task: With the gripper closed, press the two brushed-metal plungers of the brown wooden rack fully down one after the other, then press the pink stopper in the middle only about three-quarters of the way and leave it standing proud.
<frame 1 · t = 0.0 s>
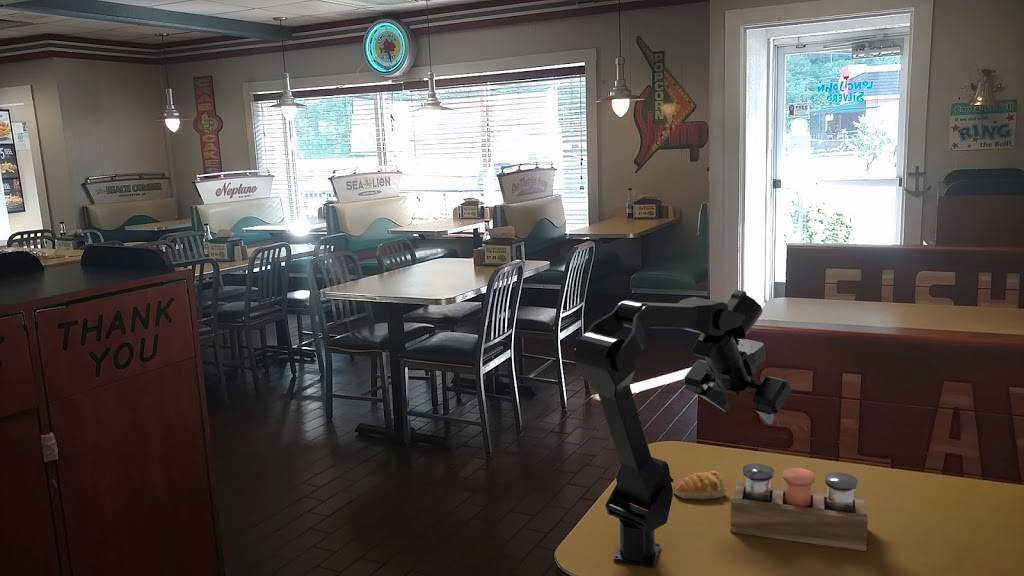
hand: (748, 416, 145), 15 cm above the table, tool tilted 35°, fingers open, 9 cm apart
pastry: (701, 494, 149), on the table
plunger 2: (840, 495, 131), point 7 cm above the table, slide at 0.0 cm
brown wooden rack: (796, 528, 134), on the table
plunger 1: (757, 485, 135), point 7 cm above the table, slide at 0.0 cm
pink stopper: (798, 490, 133), point 7 cm above the table, slide at 0.0 cm
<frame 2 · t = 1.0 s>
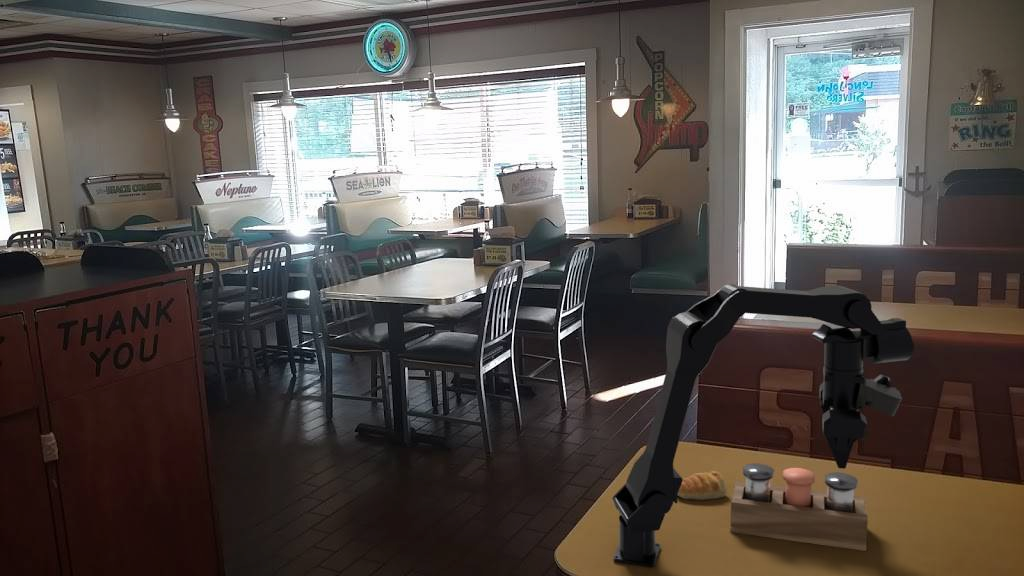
hand: (840, 456, 130), 13 cm above the table, tool pointing down, fingers open, 8 cm apart
nothing on the table moved.
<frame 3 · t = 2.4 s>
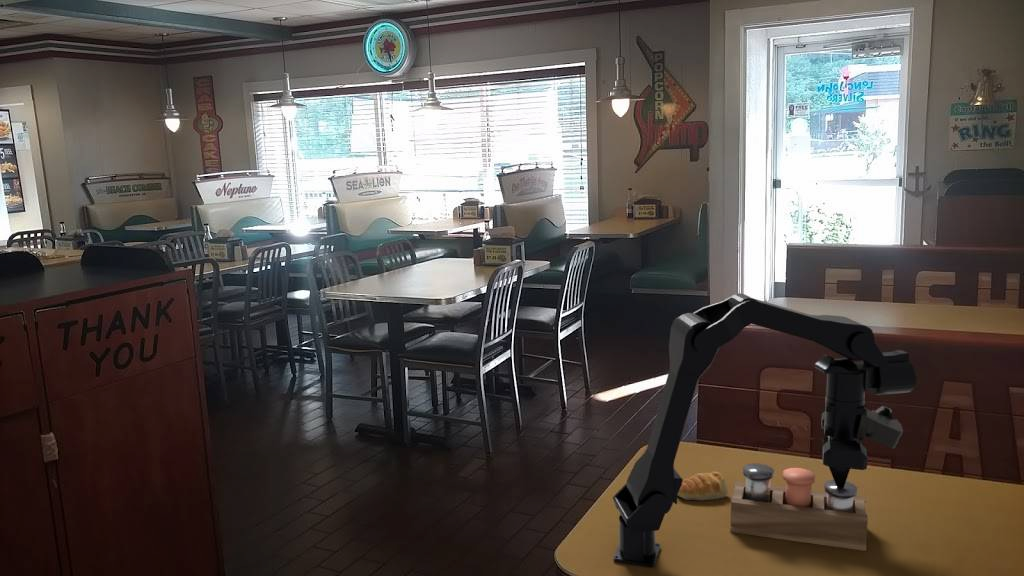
hand: (840, 486, 130), 8 cm above the table, tool pointing down, fingers closed, pressing on plunger 2
plunger 2: (839, 502, 131), point 6 cm above the table, slide at 1.4 cm, touching gripper
everything else where it was.
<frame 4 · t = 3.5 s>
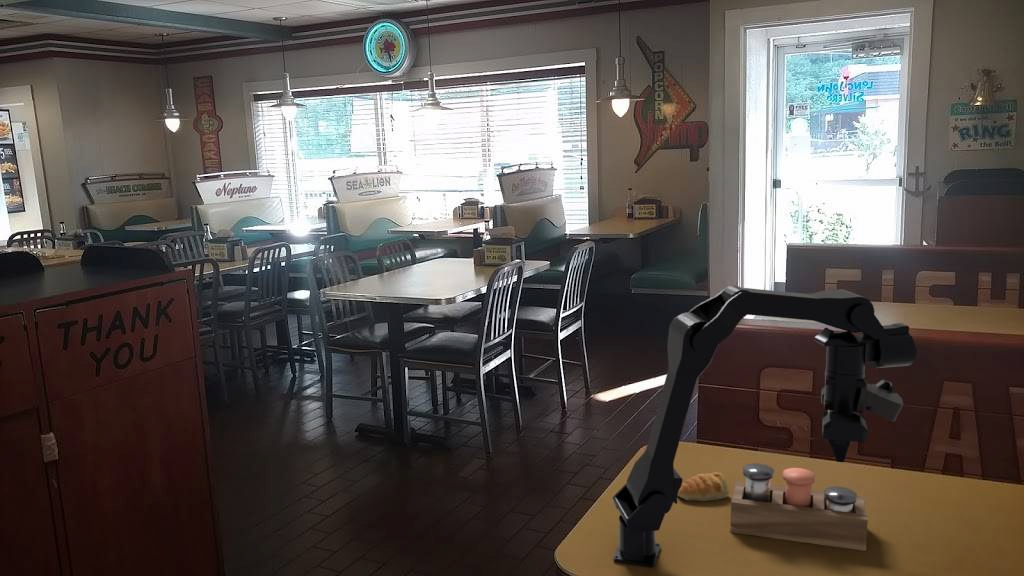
hand: (840, 461, 130), 13 cm above the table, tool pointing down, fingers closed
plunger 2: (839, 509, 131), point 4 cm above the table, slide at 2.5 cm
everything else where it was.
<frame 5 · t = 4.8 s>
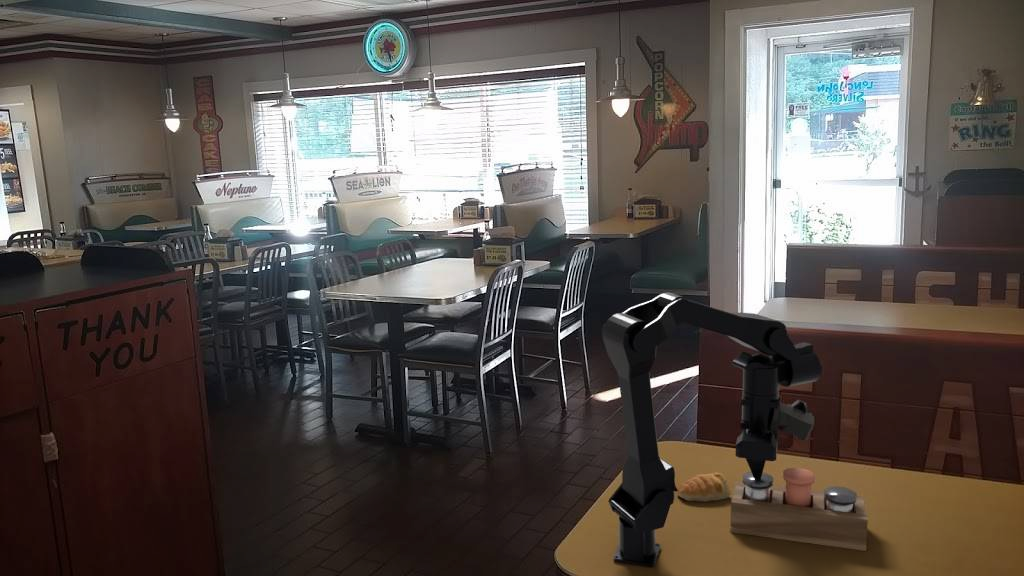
hand: (757, 477, 135), 8 cm above the table, tool pointing down, fingers closed, pressing on plunger 1
plunger 1: (757, 493, 136), point 5 cm above the table, slide at 1.5 cm, touching gripper
everything else where it was.
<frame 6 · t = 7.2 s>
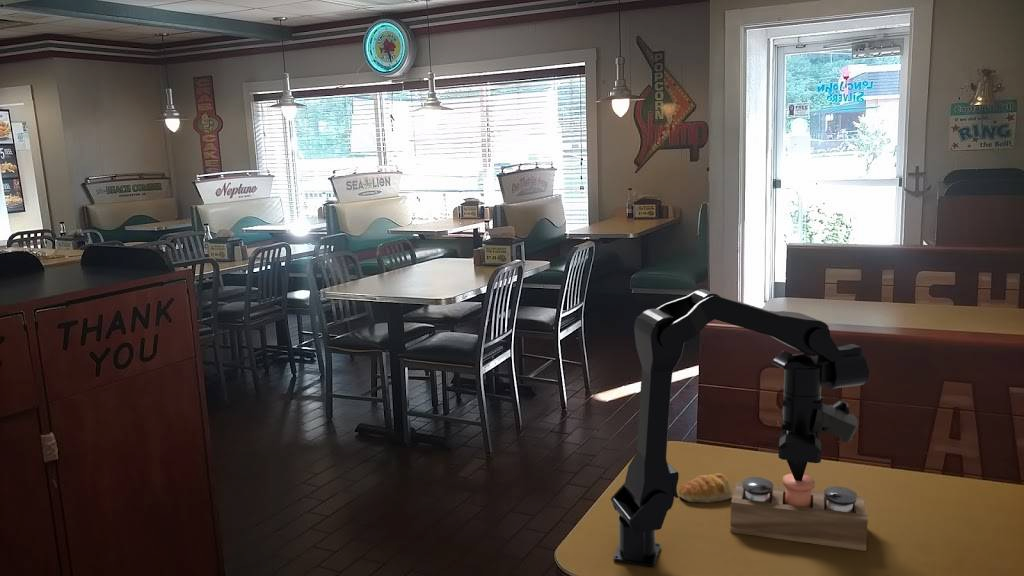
hand: (798, 480, 133), 9 cm above the table, tool pointing down, fingers closed, pressing on pink stopper
plunger 1: (757, 499, 136), point 4 cm above the table, slide at 2.5 cm
pink stopper: (798, 496, 133), point 6 cm above the table, slide at 1.1 cm, touching gripper
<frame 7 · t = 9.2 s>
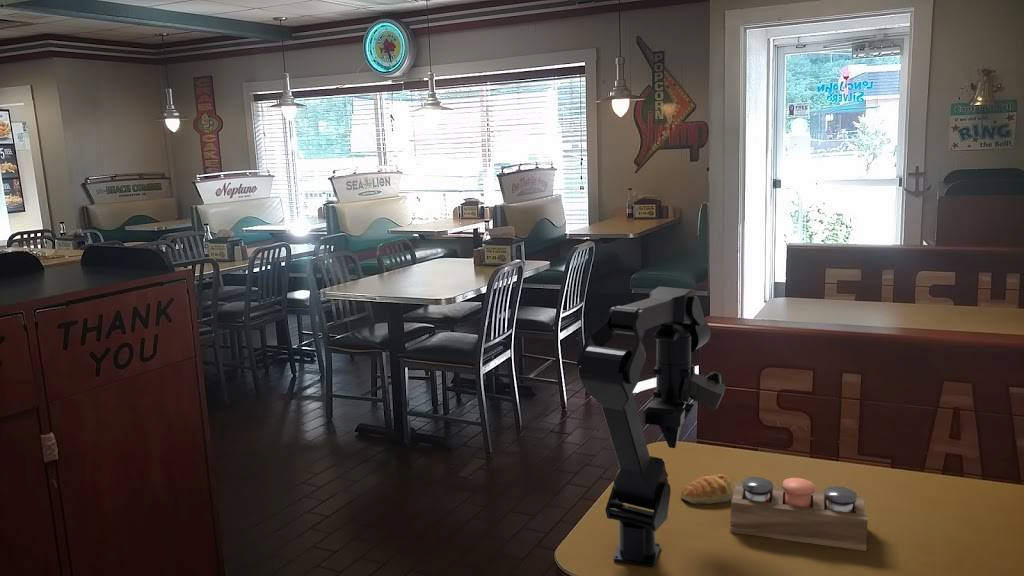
hand: (672, 447, 138), 13 cm above the table, tool pointing down, fingers closed
pink stopper: (797, 500, 133), point 5 cm above the table, slide at 1.8 cm
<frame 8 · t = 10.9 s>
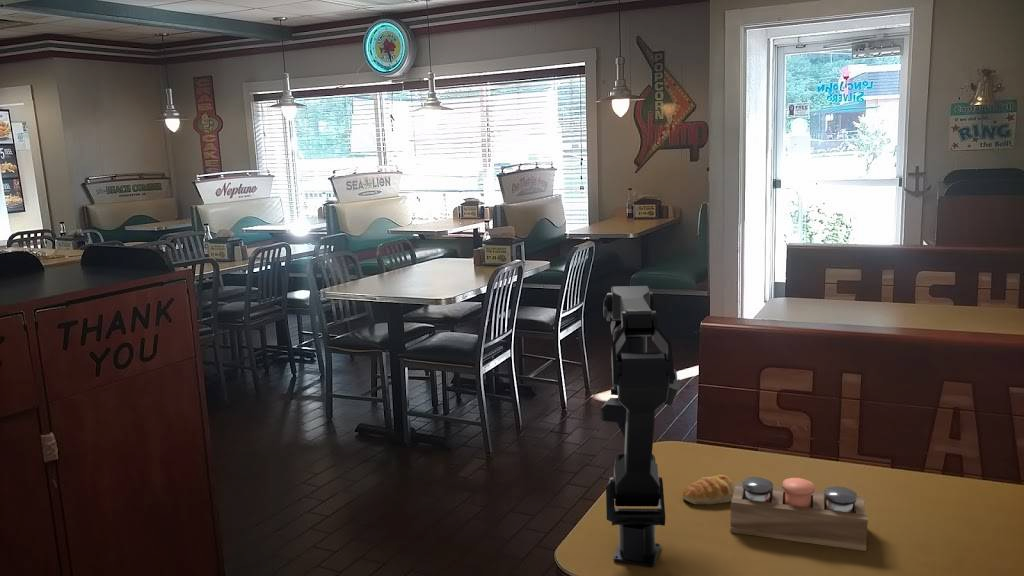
hand: (630, 443, 140), 13 cm above the table, tool pointing down, fingers closed
at the end: plunger 2 slide at 2.5 cm; plunger 1 slide at 2.5 cm; pink stopper slide at 1.8 cm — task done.
